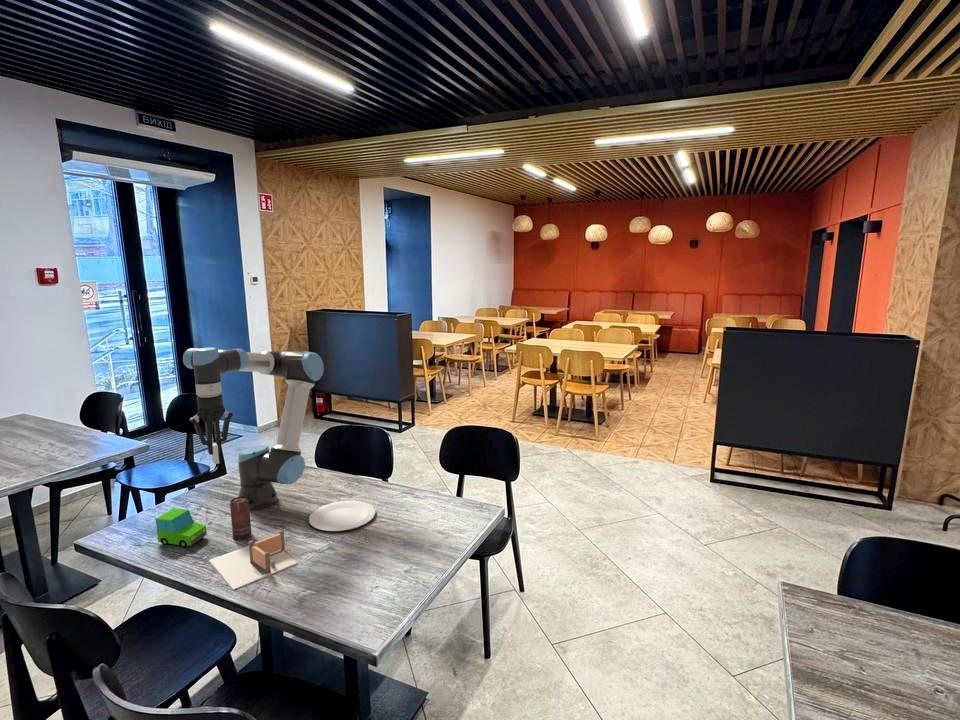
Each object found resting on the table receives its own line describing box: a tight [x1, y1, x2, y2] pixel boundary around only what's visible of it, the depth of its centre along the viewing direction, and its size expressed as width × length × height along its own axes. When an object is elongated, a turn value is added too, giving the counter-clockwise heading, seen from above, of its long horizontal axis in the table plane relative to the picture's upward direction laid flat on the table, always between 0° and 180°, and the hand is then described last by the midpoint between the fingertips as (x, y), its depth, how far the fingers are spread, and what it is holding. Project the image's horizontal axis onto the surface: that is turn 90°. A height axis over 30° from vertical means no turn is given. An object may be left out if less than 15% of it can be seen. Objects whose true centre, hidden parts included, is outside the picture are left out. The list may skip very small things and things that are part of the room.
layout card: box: [208, 542, 298, 591], centre depth 168 cm, size 20×22×2 cm
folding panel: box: [252, 545, 271, 573], centre depth 163 cm, size 10×1×7 cm, turn 51°
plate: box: [308, 500, 376, 533], centre depth 198 cm, size 25×25×2 cm
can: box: [229, 497, 252, 541], centre depth 183 cm, size 6×6×14 cm
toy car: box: [155, 507, 208, 549], centre depth 180 cm, size 10×13×10 cm
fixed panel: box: [248, 529, 286, 563], centre depth 171 cm, size 12×2×7 cm, turn 135°
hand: (215, 462), depth 173 cm, fingers closed
